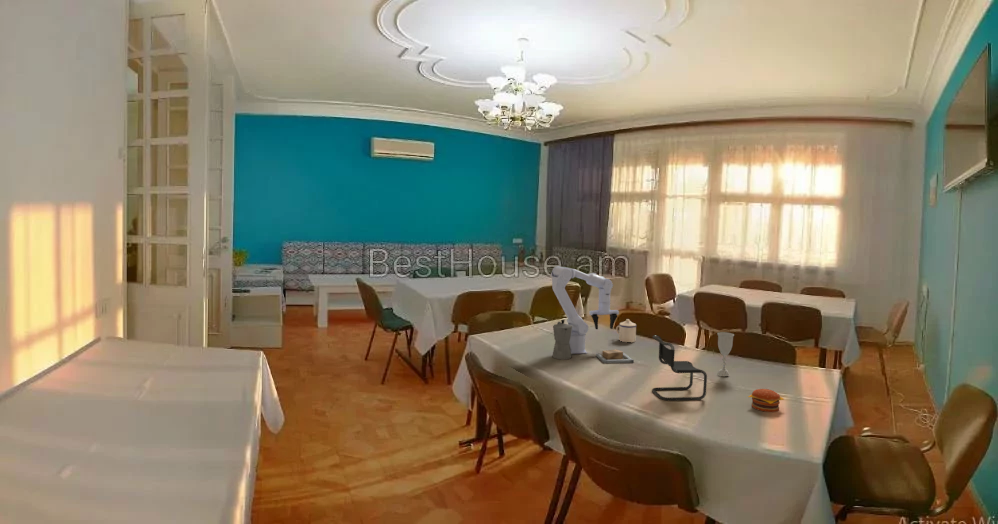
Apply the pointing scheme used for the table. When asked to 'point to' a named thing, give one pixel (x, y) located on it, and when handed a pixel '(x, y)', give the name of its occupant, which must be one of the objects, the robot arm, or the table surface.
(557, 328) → the coffeepot
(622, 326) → the teacup with lid
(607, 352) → the walnut block
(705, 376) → the chair
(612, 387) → the table surface
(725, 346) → the chalice
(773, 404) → the hamburger
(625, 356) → the grey u-shaped bracket
